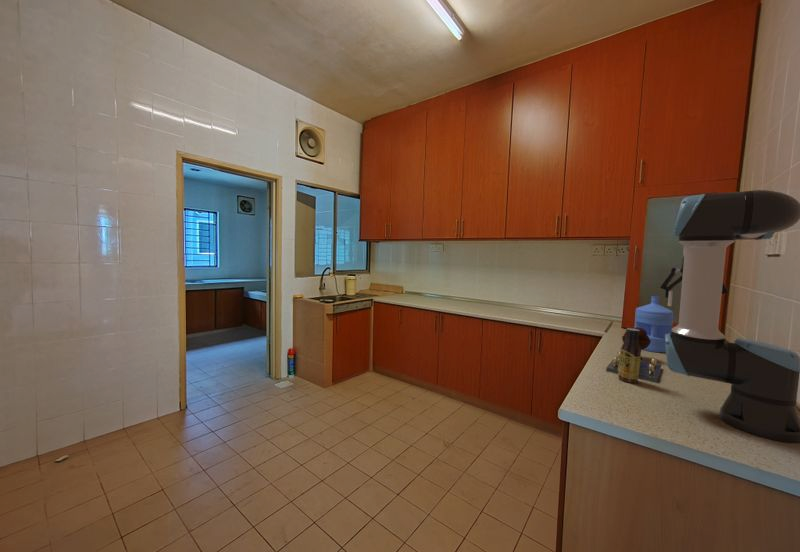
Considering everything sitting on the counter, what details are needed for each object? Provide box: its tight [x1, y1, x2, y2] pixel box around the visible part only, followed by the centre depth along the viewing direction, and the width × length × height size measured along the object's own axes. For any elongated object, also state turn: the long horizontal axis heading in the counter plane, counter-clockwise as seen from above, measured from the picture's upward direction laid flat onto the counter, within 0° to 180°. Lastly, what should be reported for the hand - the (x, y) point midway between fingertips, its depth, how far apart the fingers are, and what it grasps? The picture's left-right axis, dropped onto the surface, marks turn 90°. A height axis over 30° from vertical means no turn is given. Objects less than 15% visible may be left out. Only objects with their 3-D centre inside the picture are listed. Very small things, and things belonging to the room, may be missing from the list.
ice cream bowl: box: [621, 327, 651, 361], centre depth 145 cm, size 11×11×15 cm
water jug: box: [633, 295, 675, 354], centre depth 162 cm, size 16×16×28 cm
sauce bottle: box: [617, 327, 642, 384], centre depth 116 cm, size 7×6×20 cm
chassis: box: [605, 351, 662, 384], centre depth 129 cm, size 22×16×5 cm
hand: (691, 308), depth 127 cm, fingers open, 13 cm apart
